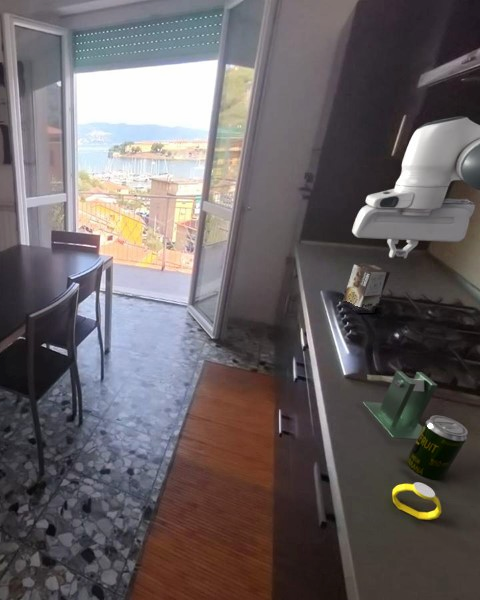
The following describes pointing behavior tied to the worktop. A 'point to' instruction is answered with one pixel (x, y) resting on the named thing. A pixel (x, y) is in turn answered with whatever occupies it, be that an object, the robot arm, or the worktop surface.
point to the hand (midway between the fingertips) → (397, 257)
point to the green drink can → (436, 447)
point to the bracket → (403, 406)
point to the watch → (423, 492)
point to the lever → (418, 382)
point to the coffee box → (366, 285)
